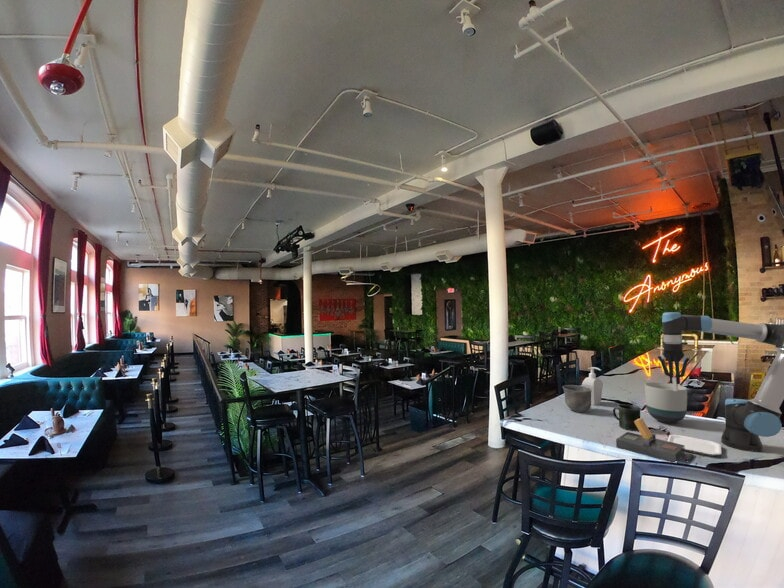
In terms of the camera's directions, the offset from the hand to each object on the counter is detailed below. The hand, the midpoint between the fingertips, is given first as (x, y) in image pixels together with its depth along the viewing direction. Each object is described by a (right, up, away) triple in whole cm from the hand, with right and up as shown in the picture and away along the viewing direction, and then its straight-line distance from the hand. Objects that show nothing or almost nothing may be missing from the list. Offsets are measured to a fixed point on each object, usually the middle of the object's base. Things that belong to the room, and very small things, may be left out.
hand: (675, 390), depth 183 cm
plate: (+9, -29, -1) cm, 30 cm away
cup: (-18, -30, +62) cm, 71 cm away
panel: (-16, -28, -4) cm, 33 cm away
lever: (-16, -23, -4) cm, 28 cm away
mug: (-6, -29, +29) cm, 41 cm away
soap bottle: (+2, -30, +77) cm, 83 cm away
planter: (+24, -29, +38) cm, 54 cm away
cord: (-5, -28, -14) cm, 32 cm away
